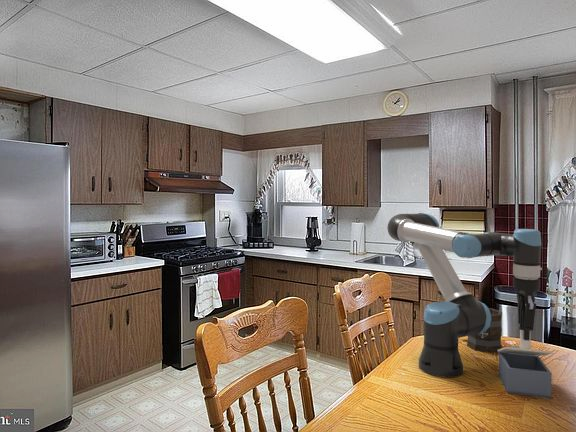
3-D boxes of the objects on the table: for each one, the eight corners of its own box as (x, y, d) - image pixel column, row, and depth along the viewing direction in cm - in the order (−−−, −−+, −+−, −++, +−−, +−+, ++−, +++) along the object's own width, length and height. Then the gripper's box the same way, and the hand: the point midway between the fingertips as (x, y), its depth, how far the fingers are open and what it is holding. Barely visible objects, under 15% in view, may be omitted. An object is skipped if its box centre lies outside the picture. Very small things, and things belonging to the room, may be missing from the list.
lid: (506, 348, 125) (505, 346, 125) (497, 351, 137) (497, 349, 138) (552, 353, 121) (552, 351, 121) (539, 356, 133) (539, 354, 134)
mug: (508, 348, 162) (509, 312, 161) (491, 355, 154) (492, 318, 154) (464, 335, 178) (464, 302, 178) (446, 341, 170) (447, 307, 170)
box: (507, 393, 124) (507, 368, 124) (498, 374, 138) (498, 351, 137) (551, 398, 121) (551, 373, 120) (537, 379, 134) (538, 356, 134)
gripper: (546, 282, 120) (544, 357, 121) (533, 273, 132) (532, 342, 133) (518, 280, 122) (517, 355, 123) (508, 272, 134) (507, 340, 135)
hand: (525, 348), depth 128 cm, fingers closed
